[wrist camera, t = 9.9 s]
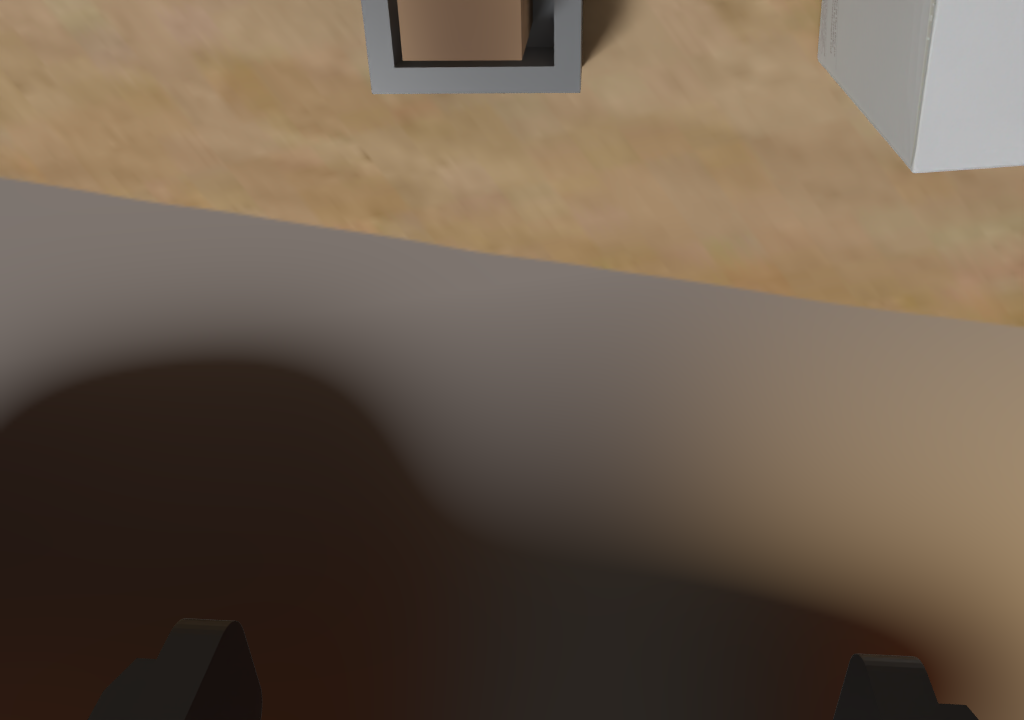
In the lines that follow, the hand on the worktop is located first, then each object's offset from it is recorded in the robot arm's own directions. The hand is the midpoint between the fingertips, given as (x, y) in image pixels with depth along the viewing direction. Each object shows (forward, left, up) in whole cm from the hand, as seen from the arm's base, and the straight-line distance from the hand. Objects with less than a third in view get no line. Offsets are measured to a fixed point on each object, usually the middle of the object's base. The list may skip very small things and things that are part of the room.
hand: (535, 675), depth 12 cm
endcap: (+4, -3, -30) cm, 30 cm away
